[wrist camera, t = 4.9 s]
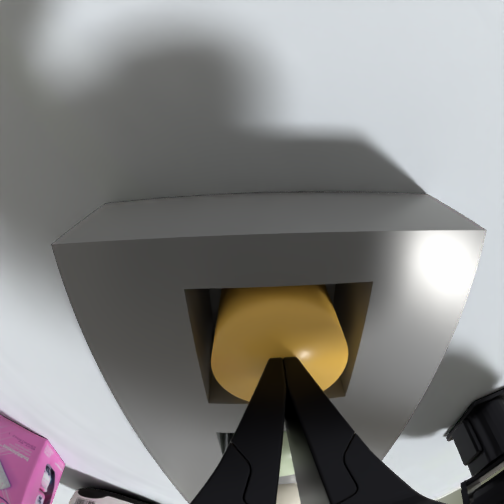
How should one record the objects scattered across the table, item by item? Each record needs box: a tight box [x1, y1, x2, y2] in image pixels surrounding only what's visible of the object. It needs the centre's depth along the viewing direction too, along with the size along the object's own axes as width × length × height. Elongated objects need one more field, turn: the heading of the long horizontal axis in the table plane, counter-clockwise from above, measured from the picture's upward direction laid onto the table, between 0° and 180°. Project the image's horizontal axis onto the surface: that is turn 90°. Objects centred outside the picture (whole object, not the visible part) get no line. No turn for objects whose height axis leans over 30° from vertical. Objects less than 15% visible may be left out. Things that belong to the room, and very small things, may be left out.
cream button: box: [276, 483, 301, 504], centre depth 16 cm, size 4×4×4 cm
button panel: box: [51, 192, 486, 504], centre depth 14 cm, size 13×23×4 cm, turn 2°
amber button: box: [211, 284, 348, 402], centre depth 10 cm, size 4×4×4 cm
